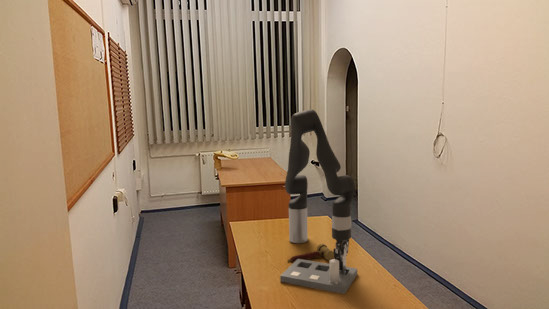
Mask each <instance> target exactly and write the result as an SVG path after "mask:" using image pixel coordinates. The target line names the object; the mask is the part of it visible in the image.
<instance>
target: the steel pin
mask: <svg viewBox="0 0 549 309" xmlns="http://www.w3.org/2000/svg"><path fill="white" fill-rule="evenodd" d="M341 253H343V252H341ZM338 258H339V257H338ZM346 267H347V256H346V249H345V255H344V256H343V270H339V274H343V275H346Z"/></svg>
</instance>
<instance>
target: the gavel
mask: <svg viewBox="0 0 549 309" xmlns="http://www.w3.org/2000/svg"><path fill="white" fill-rule="evenodd" d="M316 249H317V250H316V251H311V252H308V253H302V254H298V255H294V256H292V257H290V258H289V259H287V262H288V263H289V262H291V263H294V262H295V261H296V260H297V259H303V260H310V259H315V258H318V257H322V256H323V257H324V259H326V261H330V260H332V259H335V258H334V251H333V249H330V248H329V247H328V246H327V245H326V244H325V243H320V244H318V245H317V247H316Z"/></svg>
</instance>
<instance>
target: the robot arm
mask: <svg viewBox="0 0 549 309" xmlns="http://www.w3.org/2000/svg"><path fill="white" fill-rule="evenodd" d="M311 132H314V134H315V136H316V141H317V142H316V149H315V150H316V151H315V152H316V154H315V156H316V159H317V163H318V164H319V165H320V167H321V169H322V171H323V174H324V178H325V183H326V187H327V189H328V191H329V192H330V193H331V194H332V195H333V196H338V197H337V198H336V199H334V201H333V202H332V206H331V207H332V217H331V237H332V239H333V240H335V241H336V242H335V246H334V247H335V248H333V249H332V251H333V252H334V259H336V260H339V270H343V256H344V255H345V249H346V257H347V256H348V255H347V254H348V253H349V246H350V245H349V244H350V239H352V217H351V216H352V215H351V211H352V208H351V204H352V202H353V197H354V195H355V189H356V183H355V180H354V178H353V177H352V176H350V175H347V174H345V175H339V176H338V174H337V173H339V172H340V170H341V167H342V166H341V163H340V162H339V160H338V158H337V156H336V155H335V152H334V151H333V149H332V146H331V145H330V142H329V140H328V137H327V134H326V131H325V128H324V126H323V124H322V121H321V119H320V116H319V114H318V113H317V111H315V110H314V109H311V108H309V109H306V110H305V109H304V110H302V111H298V112H296V113H294V114H292V116H291V118H290V144H289V150H288V151H289V152H288V163H287V164H288V165H287V172H286V177H285V182H284V183H285V184H284V188H285V191H286V194H288V195H298V196H297V197H296V198H293V199H291V200H289V201H288V236H289V237H288V238H289V239H288V240H289V242H290V243H294V244H303V243H306V242H308V239H309V238H308V185H309V183H308V178H307V176H306V175H304V174H302V175H301V174H300V173H301V172H302V171H304V170H305V168H306V167H307V165H308V164H309V160H310V154H311V153H310V148H309V147H308V145H307V144H306V142H304V141H303V139H302V137H303V135H304V134H307V133H311ZM299 174H300V175H299ZM341 252H343V253H341ZM338 257H339V258H338Z"/></svg>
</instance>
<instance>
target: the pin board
mask: <svg viewBox="0 0 549 309" xmlns="http://www.w3.org/2000/svg"><path fill="white" fill-rule="evenodd" d="M328 261H329V263H326V262H321V261H315V260H314V261H313V260H310V259H306V260H303V259H297V260H296V261H295V262H292V264H291V265H290V266H289V267H288V268H286V270H284V271H283V272H282V273H281V274H280V277H279V281H280V282H281V283H286V284H291V285H296V286H302V287H306V288H312V289H316V290H322V291H326V292H332V293H337V294H342V295H345V294H346V292H347V291H349V288H350V287H351V285H352V283H353V282H354V280H355V279H356V277H357V275H358V268H356V267H349V266H346V275H343V274H339V260H336V259H335V258H334V259H332V260H328Z"/></svg>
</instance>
